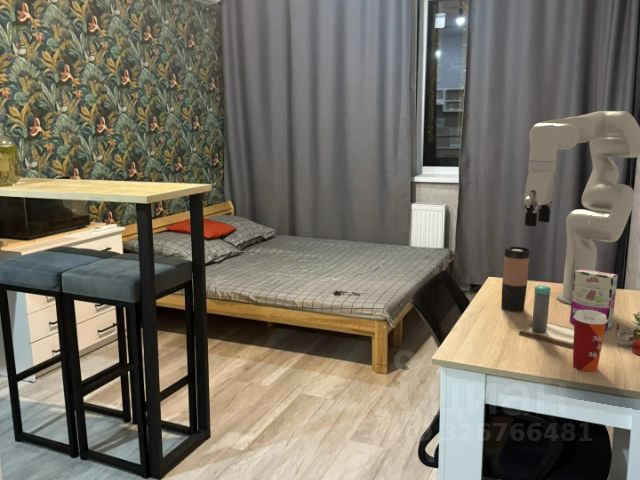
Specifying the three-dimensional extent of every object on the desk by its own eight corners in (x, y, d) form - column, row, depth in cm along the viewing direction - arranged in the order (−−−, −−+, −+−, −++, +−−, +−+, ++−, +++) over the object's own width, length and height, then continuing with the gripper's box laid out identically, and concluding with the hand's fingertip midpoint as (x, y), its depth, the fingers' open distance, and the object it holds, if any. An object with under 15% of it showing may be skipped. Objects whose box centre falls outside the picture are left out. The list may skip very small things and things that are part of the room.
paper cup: (599, 376, 140) (606, 321, 137) (565, 368, 144) (571, 315, 141) (603, 365, 146) (610, 312, 143) (571, 358, 150) (576, 306, 147)
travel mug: (526, 312, 186) (531, 252, 182) (501, 310, 188) (506, 250, 184) (523, 305, 194) (528, 247, 190) (499, 303, 195) (503, 245, 191)
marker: (535, 327, 170) (538, 284, 167) (549, 330, 167) (553, 287, 164) (528, 331, 167) (532, 287, 164) (543, 334, 164) (547, 290, 161)
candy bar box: (612, 327, 174) (619, 274, 171) (607, 331, 171) (613, 277, 167) (574, 318, 182) (580, 267, 178) (568, 322, 178) (574, 270, 175)
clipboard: (537, 323, 177) (538, 317, 176) (592, 336, 166) (593, 330, 165) (519, 334, 167) (519, 327, 167) (575, 349, 157) (576, 342, 156)
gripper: (541, 164, 180) (536, 218, 184) (517, 167, 168) (512, 225, 171) (565, 166, 175) (560, 221, 179) (542, 169, 163) (537, 229, 166)
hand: (537, 223), depth 175 cm, fingers open, 9 cm apart
